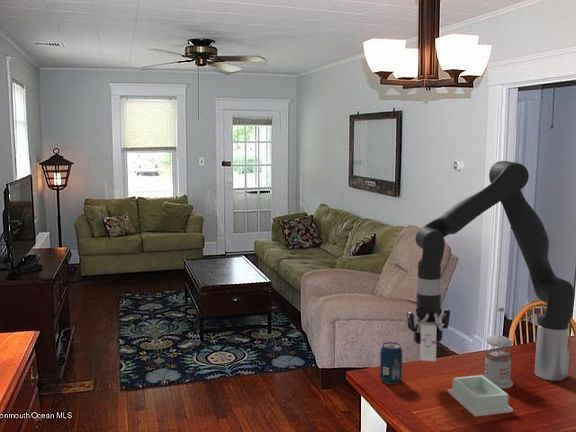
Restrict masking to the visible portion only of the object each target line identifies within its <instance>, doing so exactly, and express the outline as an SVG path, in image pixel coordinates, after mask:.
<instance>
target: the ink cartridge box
mask: <svg viewBox="0 0 576 432" xmlns="http://www.w3.org/2000/svg"><path fill="white" fill-rule="evenodd" d="M420 323H421V321H420ZM436 329H437V328H436V314H435V322H426V323H424V324H421V331H420V333H421V341H420V344H419V345H420V350H419V351H420V361H422V362H423V361H424V362H436V361H437V341H436Z"/></svg>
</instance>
